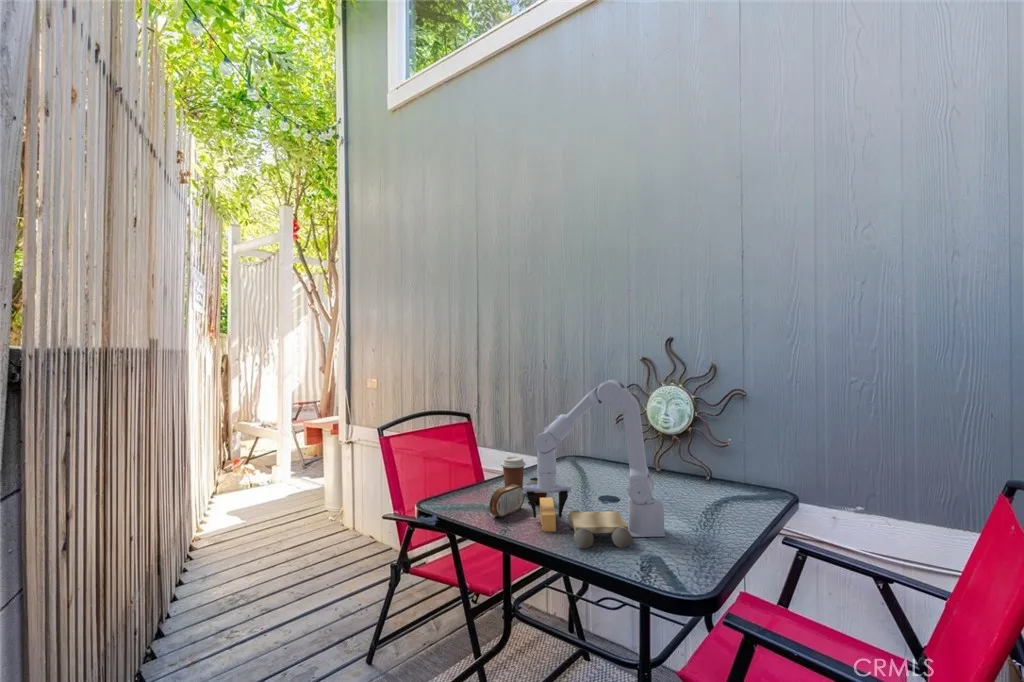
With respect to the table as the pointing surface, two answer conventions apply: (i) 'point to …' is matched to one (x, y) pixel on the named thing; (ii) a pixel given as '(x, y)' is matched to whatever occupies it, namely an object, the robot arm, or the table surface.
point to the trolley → (599, 527)
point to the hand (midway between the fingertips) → (547, 516)
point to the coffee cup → (513, 470)
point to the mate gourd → (537, 495)
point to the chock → (547, 514)
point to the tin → (506, 500)
